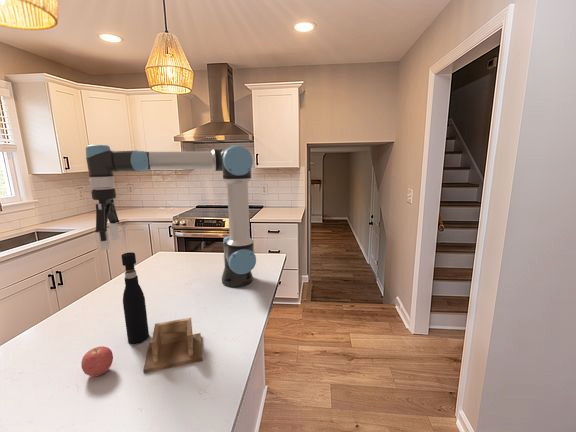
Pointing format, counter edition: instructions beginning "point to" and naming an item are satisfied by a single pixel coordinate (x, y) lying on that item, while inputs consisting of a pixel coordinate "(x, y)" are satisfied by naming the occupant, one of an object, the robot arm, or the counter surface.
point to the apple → (97, 361)
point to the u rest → (173, 346)
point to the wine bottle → (134, 303)
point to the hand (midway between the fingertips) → (110, 244)
